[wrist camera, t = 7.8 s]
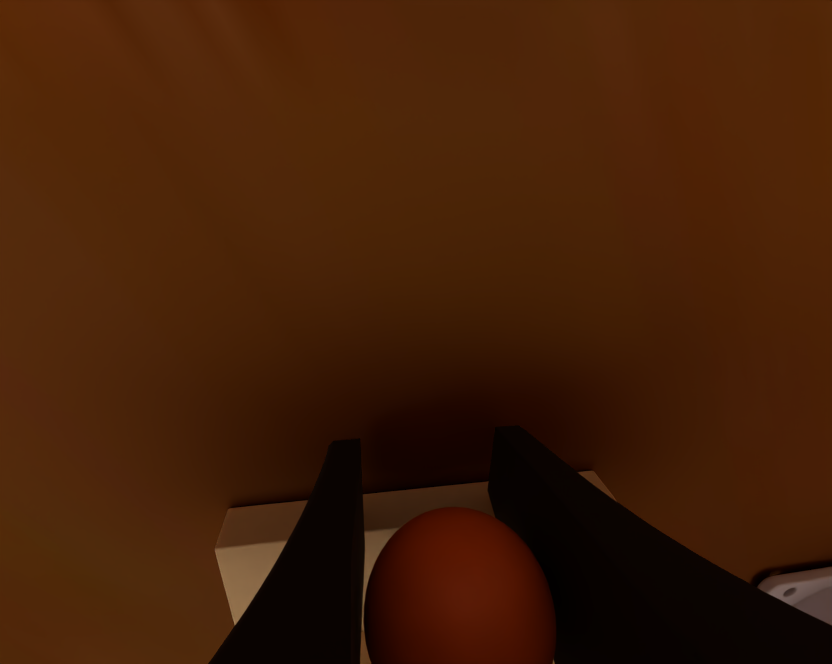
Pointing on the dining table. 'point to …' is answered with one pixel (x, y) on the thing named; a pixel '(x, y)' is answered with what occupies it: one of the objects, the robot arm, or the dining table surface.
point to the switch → (458, 595)
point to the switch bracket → (383, 515)
